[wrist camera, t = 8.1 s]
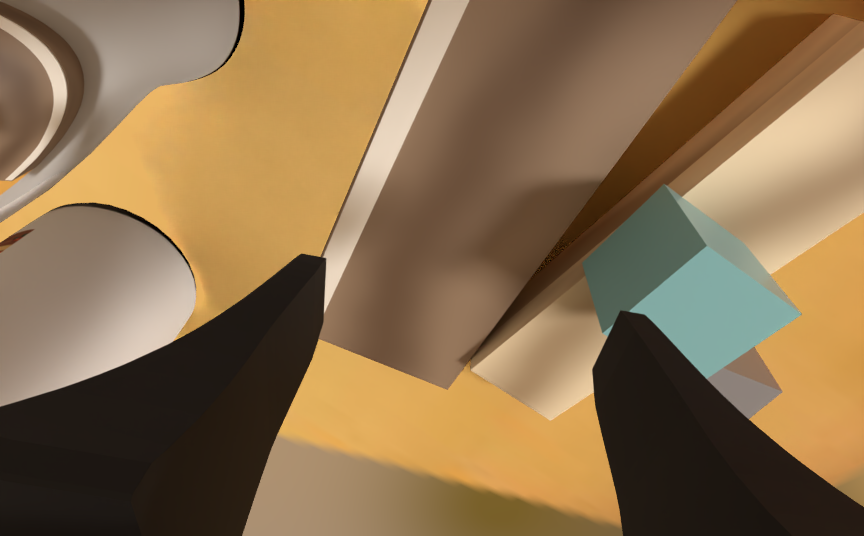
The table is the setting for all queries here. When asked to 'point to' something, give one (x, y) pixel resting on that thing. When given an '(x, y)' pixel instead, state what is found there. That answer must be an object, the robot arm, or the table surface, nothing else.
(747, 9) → the table surface
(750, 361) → the grey cube
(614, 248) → the teal cube
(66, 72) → the silver metal tumbler
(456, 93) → the dock
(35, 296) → the milk bottle
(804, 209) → the tan tray
